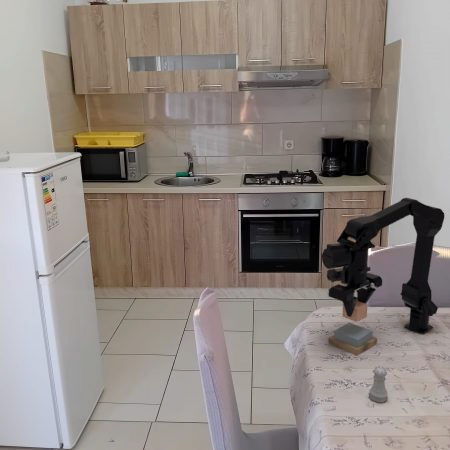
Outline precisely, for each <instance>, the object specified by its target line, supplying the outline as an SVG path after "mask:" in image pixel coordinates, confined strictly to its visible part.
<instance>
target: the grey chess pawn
mask: <svg viewBox="0 0 450 450" xmlns="http://www.w3.org/2000/svg"><path fill="white" fill-rule="evenodd" d="M372 372H373V374H374V375H373V379H374V381H373V385H372V386H371V388H369V393H368V396H369V398H370V400H371V401H373V402H375V403H381V404H383V403H385V402H387V400H388V398H389V397H388V396H389V392H388V391H387V389H386V383H385V381H386V379H387V378H386V377H385V376H387V375H388V372H387V369H386V368H385V367H384V366H380V365H377V366H375V367H374V369H373V370H372Z"/></svg>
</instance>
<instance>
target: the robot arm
mask: <svg viewBox="0 0 450 450" xmlns="http://www.w3.org/2000/svg"><path fill="white" fill-rule="evenodd" d="M409 216H411V217H412V220H413V222H412V225H413V227H414V230H415V232H416V239H415V246H414V253H413V261H412V266H411V273H410V279H409V280H408V281H406V282H404V283H402V285H401V292H400V296H401V299H402V301H403V303H404V307H407V308H409V309H410V312H409V320H408V321H409V322H408V323H406V324H405V325H404V327H403V328H404V329H408V330H410V331H413V332H417V333H418V334H419V333H420V334H422V335H424V334H426V333H428V332H429V331H430V330H432V329H433V328H434V327H433V326H432V325H431V324H429V322H430V317H432V316H434V315H436V314H437V311H438V310H439V307H438V306H437V305H436V303H434V301H432V289H431V287H430V283H429V275H430V267H431V263H432V255H433V249H434V245H435V244H434V243H435V237H436V236H437V234H438V233H439V232H440V231H441V230H442V228H443V225H444V222H445V221H444V220H445V211H444V210H442V209H441V208H439V207H435V206H430V205H427V204H424V203H422V202H421V201H419V200H417V199H414V198H410V197H404V198H402V199H400V201H398V202H396V203H393V204H391V205H390V206H387V207H385V208H383V209H381V210H380V211H377V212H376V213H373V214H371V215H366V216H359V217H354V218H352V219H350V220H348V221H347V222H346V225H345V228H343V230H342V232H341V233H340V235H339V237H338V238H337V240H336V243H328V244H326V248H324V249H323V251H322V253H321V262H322V264H323V266H324V267H325V269H327V271H326V278H327V280H328V281H330V282H331V283H334V282H340V283H341V284H335V285H334V286H331V287H330V288H329V289H328V293H327V294H328V297H329V298H332V299H335V300H338V301H340V302H342V305H343V304H344V307H345V310H346V313H347V316H349V317H351V315H352V313H353V310H354V308H355V305H356V302H357V301H359V302H362V303H365V304H367V303H368V302H369V300H370V298H371V297H372V296H373V294H374V292H375V291H376V290H377V289H378V288H380V287H382V286H383V278H382V277H381V275H378V274H373V273H370V271H371V266H368V263H369V249H374V248H376V245H375V244H374V243H373V242H371V241H372V240H373V239H375V238H376V237H377V236H378V234H379V233H380V231H381V230H384V229H385V228H386V227H390V226H391V225H392V224H394V223H397V222H398V221H400V220H402V219H404V218H406V217H409ZM353 240H354V241H353ZM372 284H373V285H374V287H375V288H374V287H373V285H372ZM376 288H377V289H376ZM355 293H356V296H355Z"/></svg>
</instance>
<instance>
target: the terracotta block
mask: <svg viewBox="0 0 450 450" xmlns="http://www.w3.org/2000/svg"><path fill="white" fill-rule="evenodd" d="M367 317H368V304H367V303H366V304H365V303H362V302H359V301H357V302H356V305H355V308H354V310H353V313H352V315H351V317H349V316H347V313H346V310H345V307H344V304H343V303H342V315H341V318H345V319H348V320H350V321H353V322H355V323H358V322H360V321H362V320H364V319H366V318H367Z"/></svg>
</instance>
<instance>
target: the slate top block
mask: <svg viewBox="0 0 450 450" xmlns="http://www.w3.org/2000/svg"><path fill="white" fill-rule="evenodd" d="M333 335H334V339H336V340H339V341H341V342H344V343H346V344H349V345H351V346H354V347H356V348H358V347H360V346H361V345H363V344H364V343H366V342H367V341H369V340H370V339H372V337H373V330H372V329H369V328H366V327H363V326H361V325H357V324H354V323H352V322H347V323H345V324H344V325H342V326H340V327H338V328H336V329H335V330H334V331H333Z"/></svg>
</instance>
